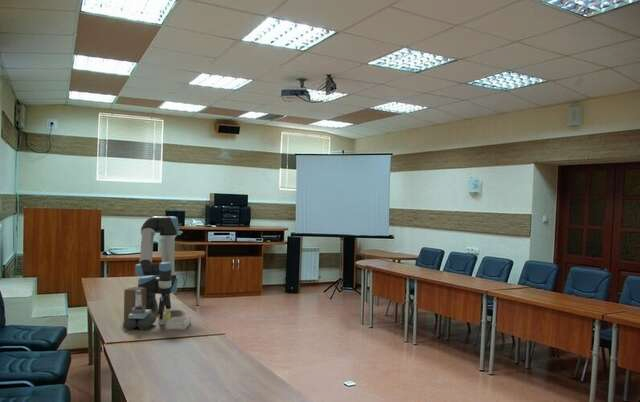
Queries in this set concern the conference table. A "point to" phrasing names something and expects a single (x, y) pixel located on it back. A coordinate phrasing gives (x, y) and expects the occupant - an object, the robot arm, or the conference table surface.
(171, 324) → the tray
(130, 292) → the block
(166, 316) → the yellow cube
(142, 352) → the conference table surface
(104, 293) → the conference table surface
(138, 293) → the pin
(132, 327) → the grey plate on cylinders
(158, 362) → the conference table surface
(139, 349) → the conference table surface
